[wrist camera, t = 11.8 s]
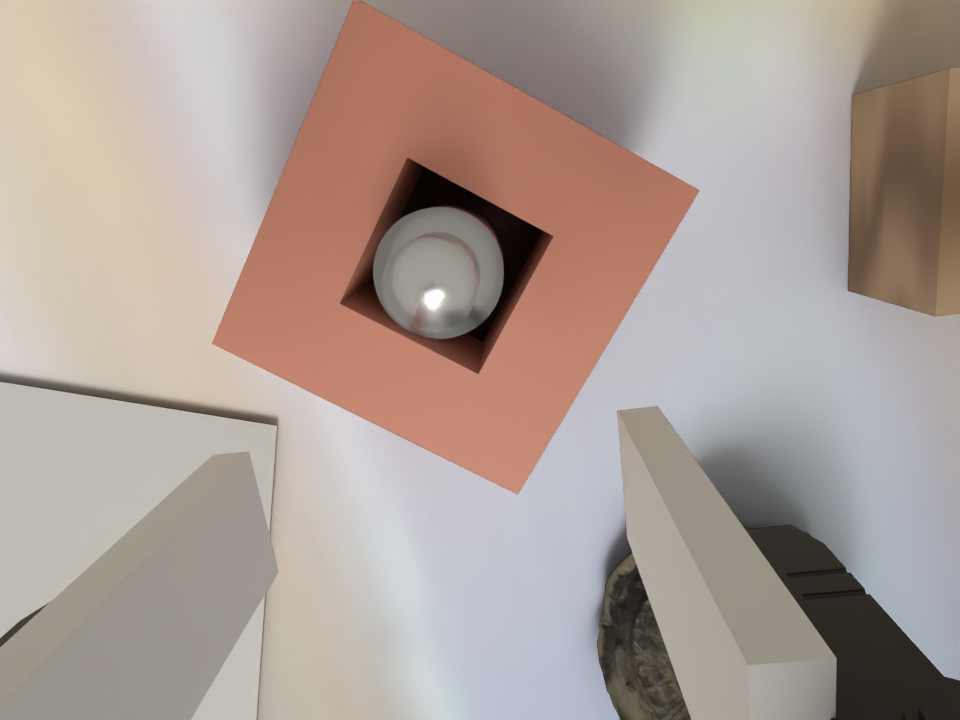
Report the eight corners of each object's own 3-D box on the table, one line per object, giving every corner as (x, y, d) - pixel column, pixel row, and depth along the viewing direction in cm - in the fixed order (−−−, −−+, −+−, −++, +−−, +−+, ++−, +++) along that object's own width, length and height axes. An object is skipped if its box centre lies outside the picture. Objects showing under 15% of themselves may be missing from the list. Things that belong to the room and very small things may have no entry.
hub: (559, 325, 25) (595, 412, 15) (385, 346, 25) (311, 444, 15) (541, 138, 23) (567, 101, 13) (353, 165, 23) (246, 148, 14)
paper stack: (-209, 659, 31) (-225, 670, 30) (-301, 126, 24) (-324, 124, 23) (259, 732, 31) (254, 744, 30) (297, 221, 24) (291, 222, 24)
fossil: (564, 524, 26) (762, 654, 17) (725, 454, 30) (958, 531, 21) (602, 737, 29) (792, 948, 20) (746, 648, 32) (964, 794, 23)
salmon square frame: (515, 442, 23) (517, 494, 19) (263, 316, 22) (211, 343, 18) (662, 190, 20) (699, 190, 16) (384, 35, 19) (354, -3, 15)
